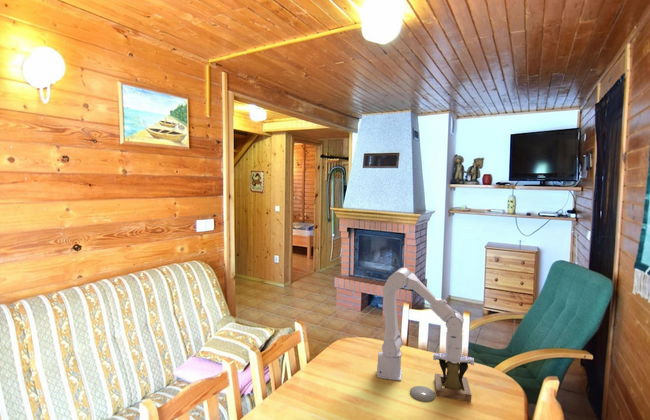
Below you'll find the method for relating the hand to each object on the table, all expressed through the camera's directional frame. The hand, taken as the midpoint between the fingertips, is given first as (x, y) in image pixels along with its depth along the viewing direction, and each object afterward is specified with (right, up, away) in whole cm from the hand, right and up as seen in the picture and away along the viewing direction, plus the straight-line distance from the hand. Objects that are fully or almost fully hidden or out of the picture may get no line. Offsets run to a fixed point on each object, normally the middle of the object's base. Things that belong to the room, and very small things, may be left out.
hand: (452, 379), depth 138 cm
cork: (0, -4, 0) cm, 4 cm away
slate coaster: (-12, -4, -3) cm, 13 cm away
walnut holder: (0, -4, 0) cm, 4 cm away
